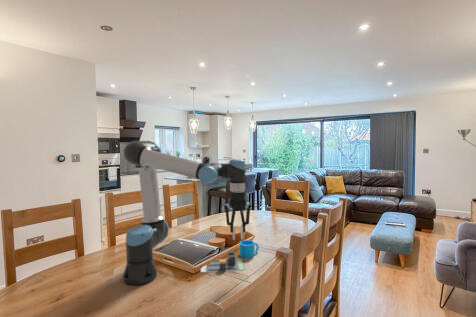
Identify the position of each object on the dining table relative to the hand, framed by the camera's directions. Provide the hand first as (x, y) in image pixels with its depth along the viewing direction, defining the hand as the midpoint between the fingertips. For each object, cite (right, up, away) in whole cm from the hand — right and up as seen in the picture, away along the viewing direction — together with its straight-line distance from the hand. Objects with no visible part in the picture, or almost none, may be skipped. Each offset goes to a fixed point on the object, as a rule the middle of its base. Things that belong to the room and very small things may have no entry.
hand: (237, 238), depth 129 cm
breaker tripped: (-7, -15, 0) cm, 17 cm away
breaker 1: (-4, -15, +10) cm, 18 cm away
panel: (-8, -16, +5) cm, 19 cm away
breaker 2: (-3, -15, +6) cm, 16 cm away
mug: (+7, -16, +19) cm, 25 cm away
